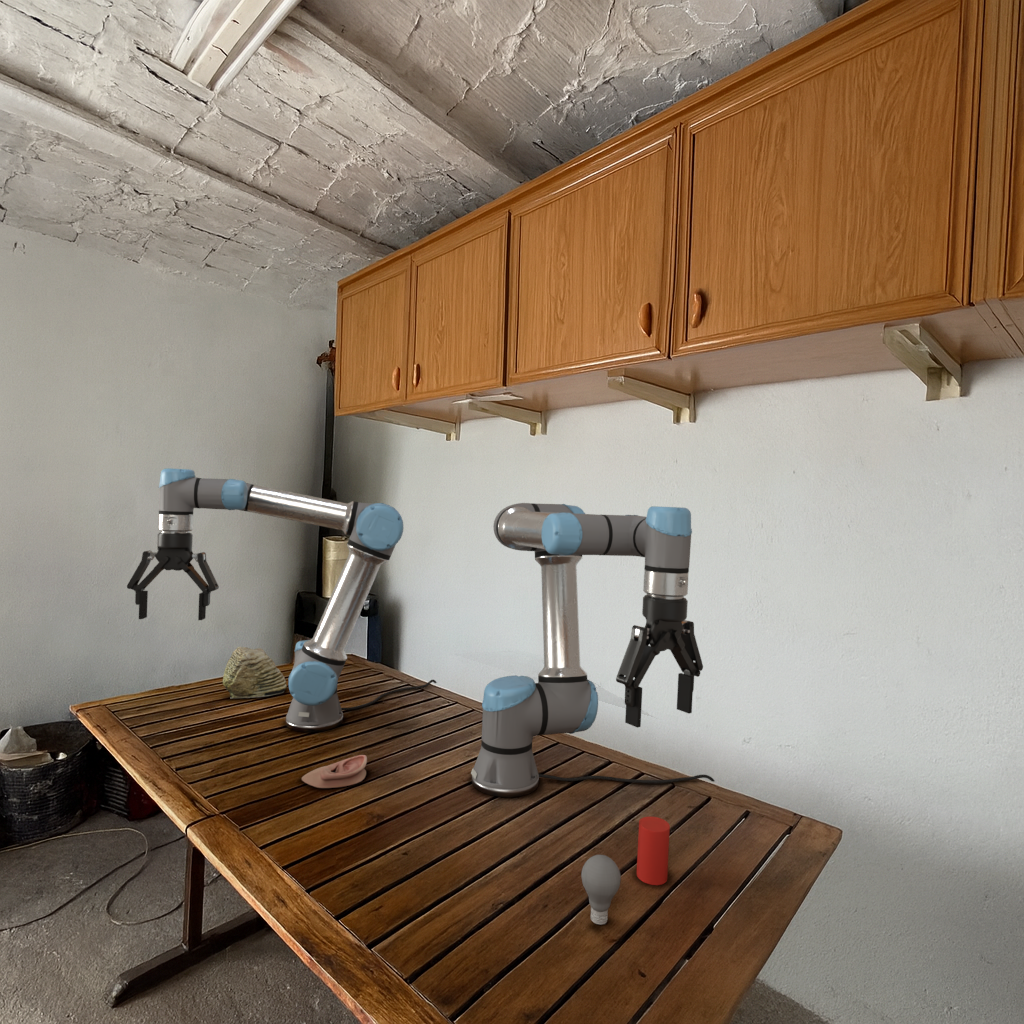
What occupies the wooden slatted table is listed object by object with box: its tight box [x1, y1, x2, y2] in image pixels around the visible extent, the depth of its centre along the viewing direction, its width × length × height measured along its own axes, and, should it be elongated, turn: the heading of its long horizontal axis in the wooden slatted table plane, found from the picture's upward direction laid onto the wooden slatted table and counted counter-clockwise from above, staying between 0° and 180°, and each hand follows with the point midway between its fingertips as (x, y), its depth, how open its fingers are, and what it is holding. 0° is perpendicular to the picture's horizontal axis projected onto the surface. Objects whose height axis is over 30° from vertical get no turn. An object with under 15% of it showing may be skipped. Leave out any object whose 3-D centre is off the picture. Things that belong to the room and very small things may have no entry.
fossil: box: [222, 646, 288, 699], centre depth 198 cm, size 9×18×15 cm, turn 132°
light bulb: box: [580, 854, 622, 926], centre depth 97 cm, size 6×6×10 cm
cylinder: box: [636, 815, 671, 886], centre depth 110 cm, size 5×5×9 cm
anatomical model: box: [301, 754, 368, 789], centre depth 143 cm, size 13×4×12 cm
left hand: (172, 618), depth 155 cm, fingers open, 13 cm apart
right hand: (659, 717), depth 110 cm, fingers open, 13 cm apart
